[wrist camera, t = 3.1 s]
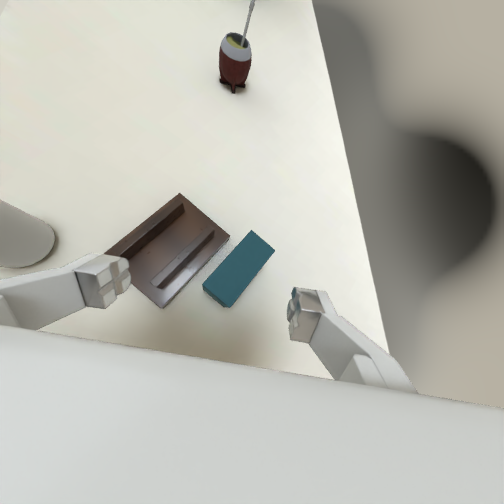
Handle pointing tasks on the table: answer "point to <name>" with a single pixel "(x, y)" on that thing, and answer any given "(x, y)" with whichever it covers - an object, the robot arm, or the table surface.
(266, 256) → the back pad
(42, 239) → the can
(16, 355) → the robot arm
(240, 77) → the mate gourd
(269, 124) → the table surface
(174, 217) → the board
